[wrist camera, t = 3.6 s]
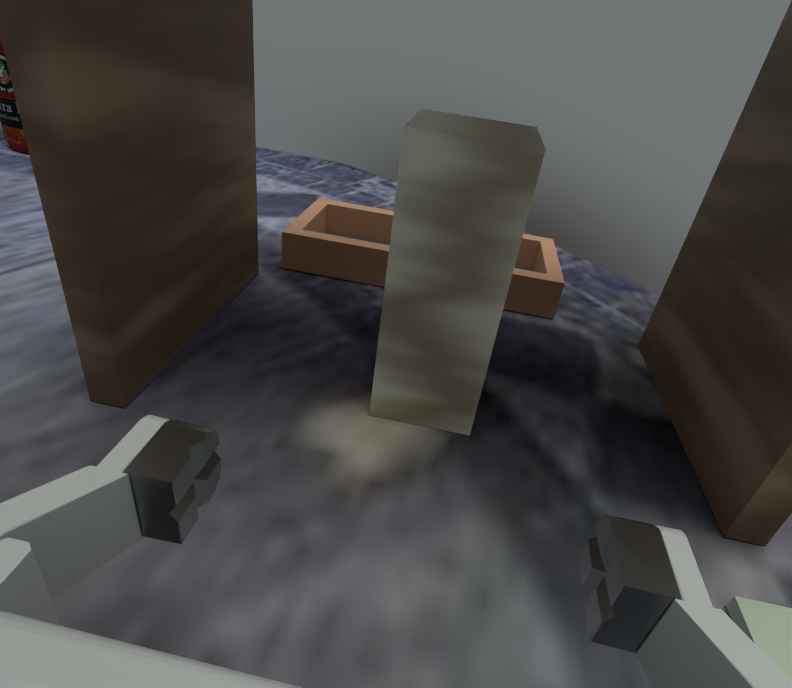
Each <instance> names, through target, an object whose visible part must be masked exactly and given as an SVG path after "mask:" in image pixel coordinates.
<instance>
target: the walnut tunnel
mask: <svg viewBox="0 0 792 688" xmlns="http://www.w3.org/2000/svg"><path fill="white" fill-rule="evenodd" d="M252 10H253V8H252V0H0V38H1V42H2V46H3V50H4V54H5V58H6V62H7V66H8V70H9V74H10V78H11V82H12V86H13V90H14V94H15V98H16V102H17V106H18V110H19V114H20V118H21V122H22V126H23V130H24V134H25V138H26V142H27V146H28V150H29V154H30V158H31V162H32V166H33V170H34V174H35V178H36V182H37V187H38V191H39V195H40V199H41V203H42V207H43V211H44V215H45V219H46V223H47V227H48V231H49V235H50V239H51V243H52V247H53V251H54V255H55V259H56V263H57V267H58V271H59V275H60V279H61V283H62V287H63V291H64V295H65V299H66V303H67V307H68V311H69V315H70V319H71V323H72V327H73V331H74V335H75V339H76V343H77V348H78V352H79V356H80V360H81V364H82V368H83V372H84V376H85V380H86V384H87V388H88V392H89V396H90V400H91V401H94V402H99V403H104V404H108V405H113V406H117V407H122V408H125V407H126V406H127V405H128V404H129V403H130V402H131V401H132V400H133V399H134V398H135V397H136V396H137V395H138V394H139V393H140V392H141V391H142V390H143V389H144V388H145V387H146V386H147V385H148V384H149V383H150V382H151V381H152V380H153V379H154V378H155V377H156V376H157V375H158V374H159V373H160V372H161V371H162V370H163V369H164V368H165V367H166V366H167V365H168V364H169V363H170V362H171V361H172V360H173V359H174V358H175V357H176V356H177V355H178V354H179V353H180V352H181V351H182V350H183V349H184V348H185V347H186V346H187V345H188V344H189V343H190V342H191V341H192V340H193V339H194V338H195V337H196V336H197V335H198V334H199V333H200V332H201V331H202V330H203V329H204V328H205V327H206V326H207V325H208V324H209V323H210V322H211V321H212V320H213V319H214V318H215V317H216V316H217V315H218V314H219V313H220V312H221V311H222V310H223V309H224V308H225V307H226V306H227V305H228V304H229V303H230V302H231V301H232V300H233V299H234V298H235V297H236V296H237V295H238V294H239V293H240V292H241V291H242V290H243V289H244V288H245V287H246V286H247V285H248V284H249V283H250V282H251V281H252V280H253V279H254V278H255V277H256V276H257V275H258V230H257V186H256V145H255V144H256V141H255V98H254V56H253V55H254V54H253V11H252ZM638 347H639V349H640V351H641V353H642V356H643V358H644V360H645V362H646V365H647V367H648V369H649V371H650V374H651V376H652V378H653V380H654V382H655V385H656V387H657V389H658V391H659V394H660V396H661V398H662V400H663V403H664V405H665V407H666V409H667V412H668V414H669V416H670V418H671V421H672V423H673V425H674V427H675V430H676V432H677V434H678V436H679V438H680V441H681V443H682V445H683V447H684V450H685V452H686V454H687V456H688V459H689V461H690V463H691V465H692V468H693V470H694V472H695V474H696V477H697V479H698V481H699V483H700V486H701V488H702V490H703V492H704V494H705V497H706V499H707V501H708V503H709V506H710V508H711V510H712V512H713V515H714V517H715V519H716V521H717V524H718V526H719V528H720V530H721V533H722V535H723V537H725V538H730V539H734V540H739V541H743V542H748V543H753V544H757V545H762V546H765V545H766V544H767V543H768V542H769V540H770V539H771V538H772V537H773V535H774V534H775V533H776V532H777V530H778V529H779V528H780V527H781V525H782V524H783V523H784V522H785V520H786V519H787V518H788V517H789V515H790V514H791V513H792V1H791V3H790V5H789V8H788V10H787V12H786V14H785V17H784V19H783V21H782V23H781V25H780V28H779V30H778V32H777V35H776V37H775V39H774V41H773V43H772V46H771V48H770V50H769V52H768V55H767V57H766V59H765V61H764V64H763V66H762V68H761V70H760V73H759V75H758V77H757V79H756V82H755V84H754V86H753V89H752V91H751V93H750V95H749V98H748V100H747V102H746V105H745V107H744V109H743V111H742V114H741V115H740V118H739V120H738V122H737V124H736V127H735V129H734V131H733V133H732V136H731V138H730V140H729V143H728V145H727V147H726V149H725V152H724V154H723V156H722V158H721V161H720V163H719V165H718V167H717V169H716V172H715V174H714V176H713V178H712V181H711V183H710V185H709V188H708V190H707V192H706V194H705V197H704V199H703V201H702V203H701V206H700V208H699V210H698V212H697V214H696V217H695V219H694V221H693V223H692V226H691V228H690V230H689V233H688V235H687V237H686V239H685V242H684V244H683V246H682V249H681V251H680V253H679V255H678V258H677V260H676V262H675V264H674V267H673V269H672V271H671V273H670V275H669V278H668V280H667V282H666V284H665V287H664V289H663V291H662V293H661V296H660V298H659V300H658V302H657V305H656V307H655V309H654V311H653V314H652V316H651V318H650V320H649V323H648V325H647V327H646V329H645V332H644V334H643V336H642V338H641V341H640V343H639V345H638Z"/></svg>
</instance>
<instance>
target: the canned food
mask: <svg viewBox="0 0 792 688" xmlns="http://www.w3.org/2000/svg"><path fill="white" fill-rule="evenodd" d="M0 121H1V125H2V129H3V132H4V136H5V139H6V140H7V142H8V144H9V145H10V147H11V148H12V149H14V150H16V151H19V152H22V153H27V154H29V150H28V146H27V142H26V138H25V134H24V130H23V126H22V122H21V118H20V114H19V110H18V106H17V102H16V98H15V94H14V90H13V86H12V82H11V78H10V74H9V70H8V66H7V62H6V58H5V54H4V50H3V46H2V42H1V38H0Z"/></svg>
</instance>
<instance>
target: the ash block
mask: <svg viewBox="0 0 792 688" xmlns="http://www.w3.org/2000/svg"><path fill="white" fill-rule="evenodd" d="M544 153H545V147H544V144H543V142H542V140H541V137H540V135H539V132H538V130H537V127H533V126H526V125H520V124H513V123H507V122H501V121H495V120H488V119H481V118H476V117H469V116H462V115H457V114H449V113H443V112H437V111H431V110H424V109H421V110H420V111H419V113H417V114H416V115H415V116H414V117H413V118H412V120H410V121H409V122H408V123H407V124H406V125H405V127H404V132H403V140H402V149H401V157H400V165H399V173H398V181H397V189H396V198H395V206H394V214H393V222H392V230H391V239H390V247H389V255H388V263H387V272H386V280H385V288H384V296H383V305H382V313H381V321H380V329H379V338H378V346H377V354H376V362H375V371H374V379H373V387H372V395H371V404H370V412H369V415H372V416H377V417H382V418H387V419H391V420H396V421H401V422H406V423H411V424H415V425H420V426H425V427H430V428H435V429H440V430H444V431H449V432H454V433H459V434H464V435H468V436H470V433H471V429H472V425H473V422H474V418H475V414H476V410H477V406H478V403H479V399H480V395H481V391H482V388H483V384H484V380H485V376H486V372H487V369H488V365H489V361H490V357H491V354H492V350H493V346H494V342H495V338H496V335H497V331H498V327H499V323H500V320H501V316H502V312H503V308H504V304H505V301H506V297H507V293H508V289H509V286H510V282H511V278H512V274H513V270H514V267H515V263H516V259H517V255H518V252H519V248H520V244H521V240H522V236H523V233H524V228H525V225H526V221H527V218H528V214H529V210H530V206H531V202H532V199H533V195H534V191H535V187H536V184H537V180H538V176H539V172H540V168H541V164H542V160H543V157H544Z"/></svg>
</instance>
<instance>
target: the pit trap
mask: <svg viewBox="0 0 792 688" xmlns="http://www.w3.org/2000/svg"><path fill="white" fill-rule="evenodd" d="M393 214H394V211H390V210H384V209H378V208H373V207H367V206H361V205H356V204H350V203H344V202H339V201H333V200H327V199H321V198H318V199H317V200H316V201H315V202H314V203H313V204H312V205H311V206H310V207H309V208H307V209H306V210H305V211H304V212H303V213H302V214H301V215H300V216H299V217H298V218H297V219H295V220H294V221H293V222H292V223H291V224H290V225H289V226H288V227H287V228H286V229H284V230H283V231H282V268H286V269H291V270H296V271H302V272H307V273H312V274H318V275H323V276H328V277H334V278H339V279H344V280H350V281H355V282H360V283H366V284H371V285H376V286H382V287H385V280H386V272H387V263H388V255H389V247H390V239H391V230H392V222H393ZM564 284H565V283H564V279H563V275H562V271H561V267H560V264H559V260H558V256H557V252H556V249H555V245H554V241H553V239H549V238H544V237H538V236H532V235H527V234H523V236H522V240H521V244H520V248H519V252H518V255H517V259H516V263H515V267H514V270H513V274H512V278H511V282H510V286H509V289H508V293H507V297H506V301H505V304H504V308H503V309H504V310H510V311H515V312H520V313H526V314H531V315H536V316H541V317H547V318H552V319H553V317H554V314H555V311H556V308H557V305H558V302H559V299H560V296H561V293H562V290H563V287H564Z"/></svg>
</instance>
